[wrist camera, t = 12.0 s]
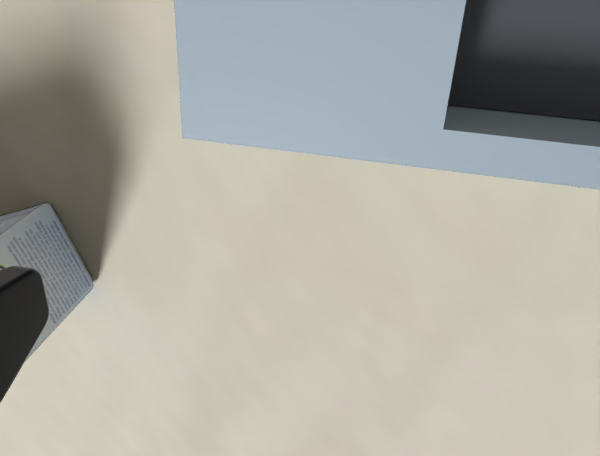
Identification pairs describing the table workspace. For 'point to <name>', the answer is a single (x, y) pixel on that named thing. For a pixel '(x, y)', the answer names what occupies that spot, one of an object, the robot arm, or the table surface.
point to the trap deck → (400, 82)
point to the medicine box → (45, 260)
